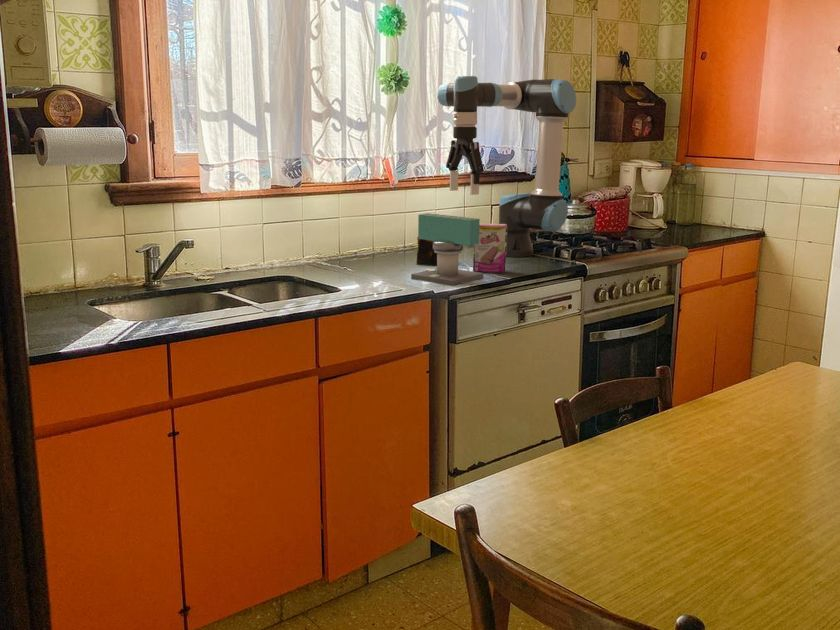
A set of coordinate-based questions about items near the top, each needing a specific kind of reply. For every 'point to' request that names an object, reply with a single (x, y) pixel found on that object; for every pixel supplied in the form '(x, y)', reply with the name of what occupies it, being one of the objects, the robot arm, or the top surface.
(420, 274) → the post base
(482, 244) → the candy bar box
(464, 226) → the teal boxy piece
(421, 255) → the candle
